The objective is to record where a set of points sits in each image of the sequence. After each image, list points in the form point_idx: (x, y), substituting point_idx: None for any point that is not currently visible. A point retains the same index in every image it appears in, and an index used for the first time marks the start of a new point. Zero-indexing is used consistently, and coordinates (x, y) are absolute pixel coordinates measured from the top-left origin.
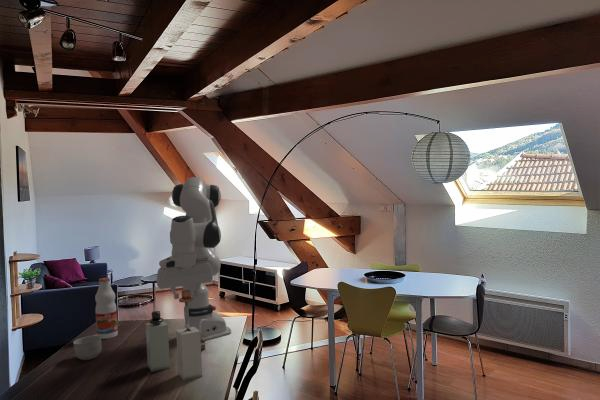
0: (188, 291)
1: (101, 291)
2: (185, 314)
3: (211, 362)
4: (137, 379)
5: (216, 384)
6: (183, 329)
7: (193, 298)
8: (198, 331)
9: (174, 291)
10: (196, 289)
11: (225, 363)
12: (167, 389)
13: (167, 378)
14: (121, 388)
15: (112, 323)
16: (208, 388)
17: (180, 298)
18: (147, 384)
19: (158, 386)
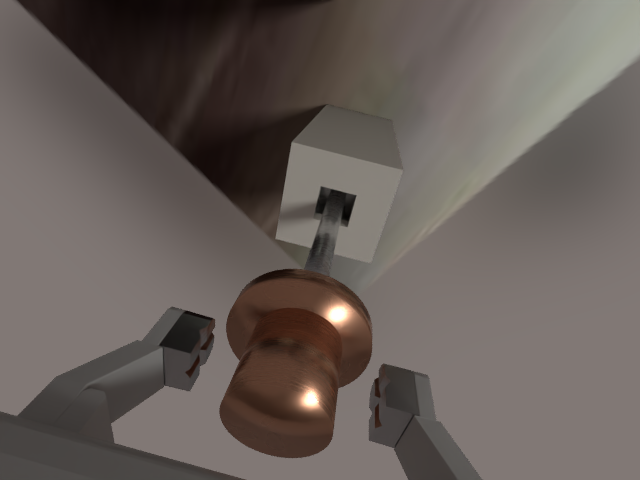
0: (288, 449)
1: None
2: (309, 253)
3: (486, 84)
4: (199, 22)
5: None
6: (327, 168)
7: (361, 368)
8: (363, 261)
9: (114, 417)
10: (415, 455)
11: (508, 139)
12: (254, 185)
13: (285, 104)
14: (140, 64)
15: None
16: (338, 260)
17: (252, 300)
18: (217, 100)
19: (240, 144)
